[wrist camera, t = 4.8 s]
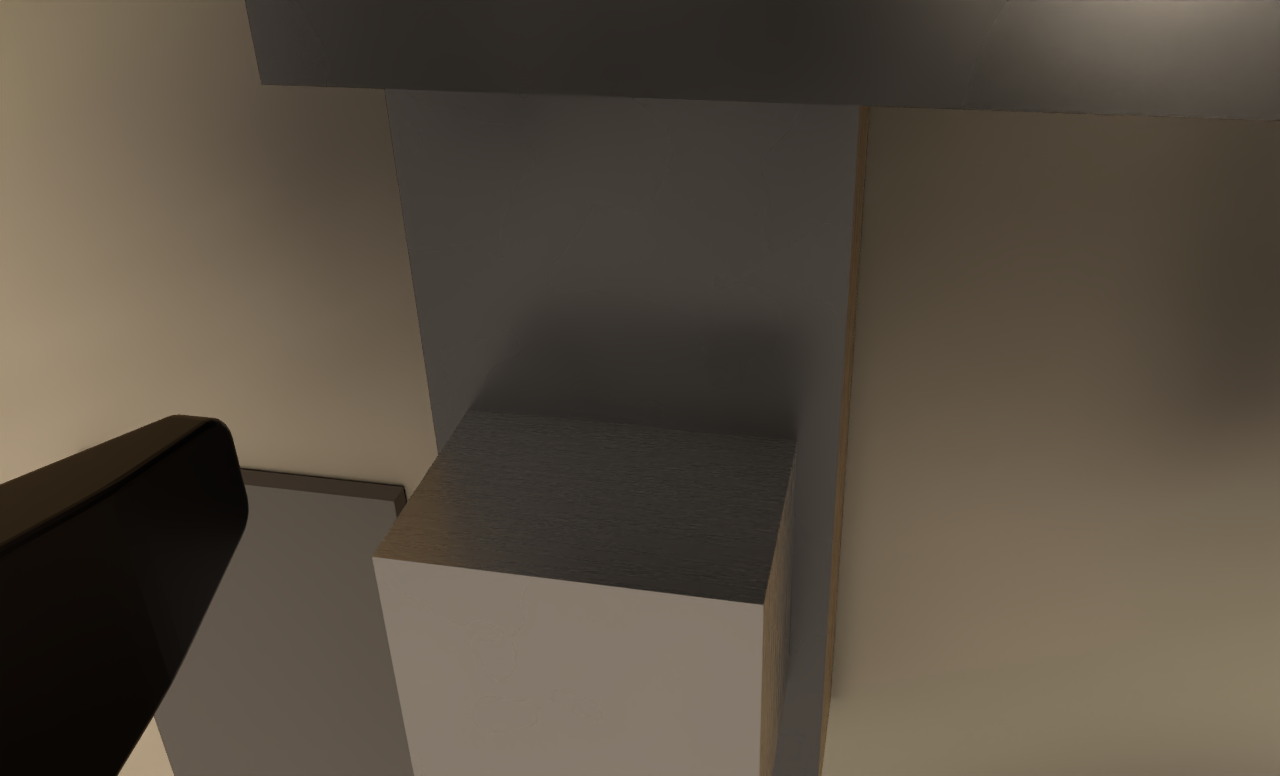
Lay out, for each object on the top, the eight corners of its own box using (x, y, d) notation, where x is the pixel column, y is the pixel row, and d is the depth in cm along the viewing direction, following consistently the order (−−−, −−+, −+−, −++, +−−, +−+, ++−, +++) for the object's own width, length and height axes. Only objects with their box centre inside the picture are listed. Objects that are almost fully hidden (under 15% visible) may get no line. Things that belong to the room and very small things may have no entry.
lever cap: (787, 682, 16) (757, 865, 14) (498, 642, 17) (420, 809, 15) (797, 440, 14) (763, 604, 12) (467, 409, 15) (371, 557, 13)
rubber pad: (458, 814, 24) (451, 831, 23) (188, 769, 25) (177, 784, 25) (403, 486, 19) (393, 501, 19) (81, 451, 21) (68, 464, 20)
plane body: (1386, 778, 18) (1543, 1185, 13) (531, 660, 21) (404, 960, 16) (1804, -213, 11) (2452, -114, 6) (437, -191, 14) (163, -111, 9)
